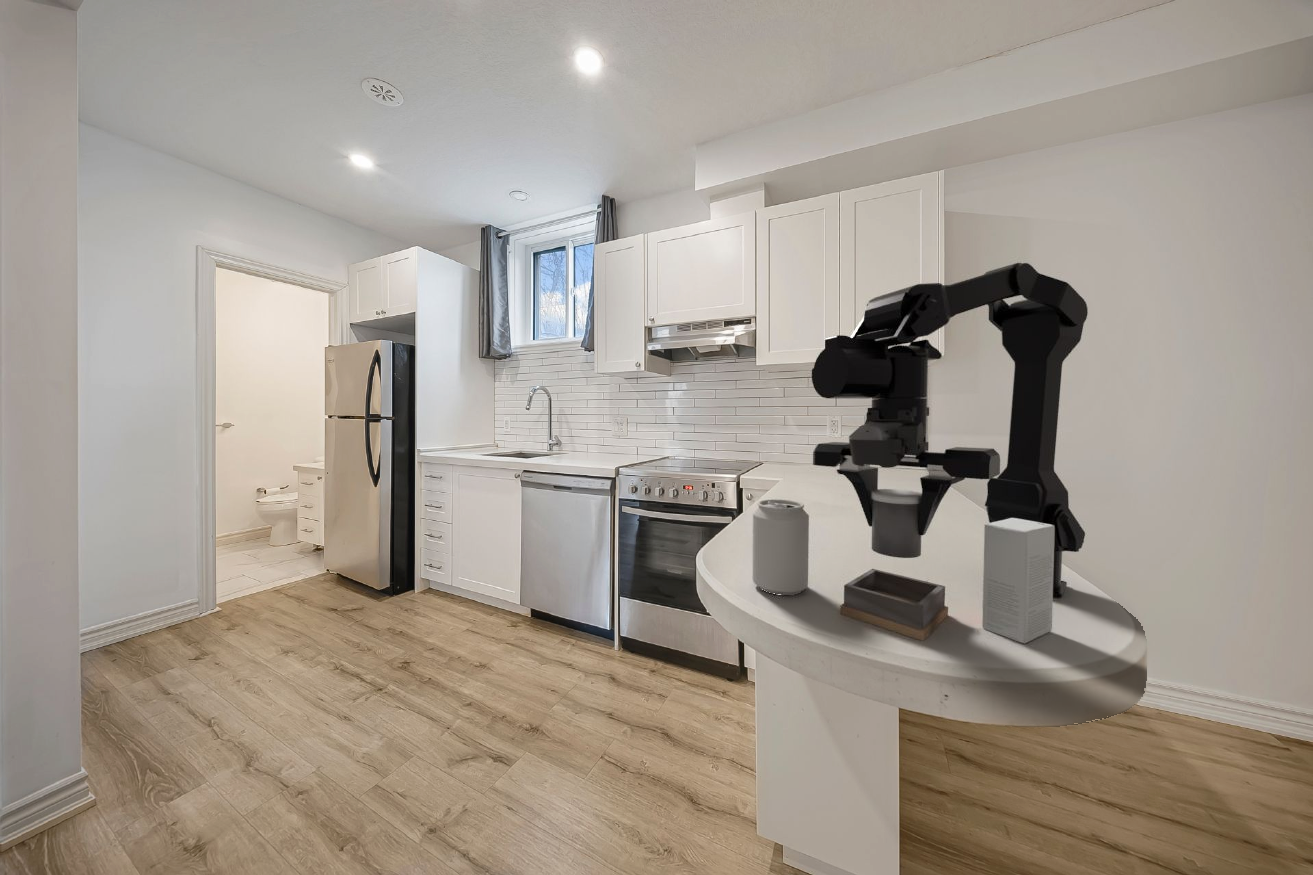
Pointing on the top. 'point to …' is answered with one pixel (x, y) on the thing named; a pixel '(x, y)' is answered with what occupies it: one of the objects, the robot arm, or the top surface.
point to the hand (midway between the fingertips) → (896, 530)
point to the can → (780, 546)
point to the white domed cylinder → (896, 523)
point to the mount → (895, 603)
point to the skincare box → (1018, 578)
